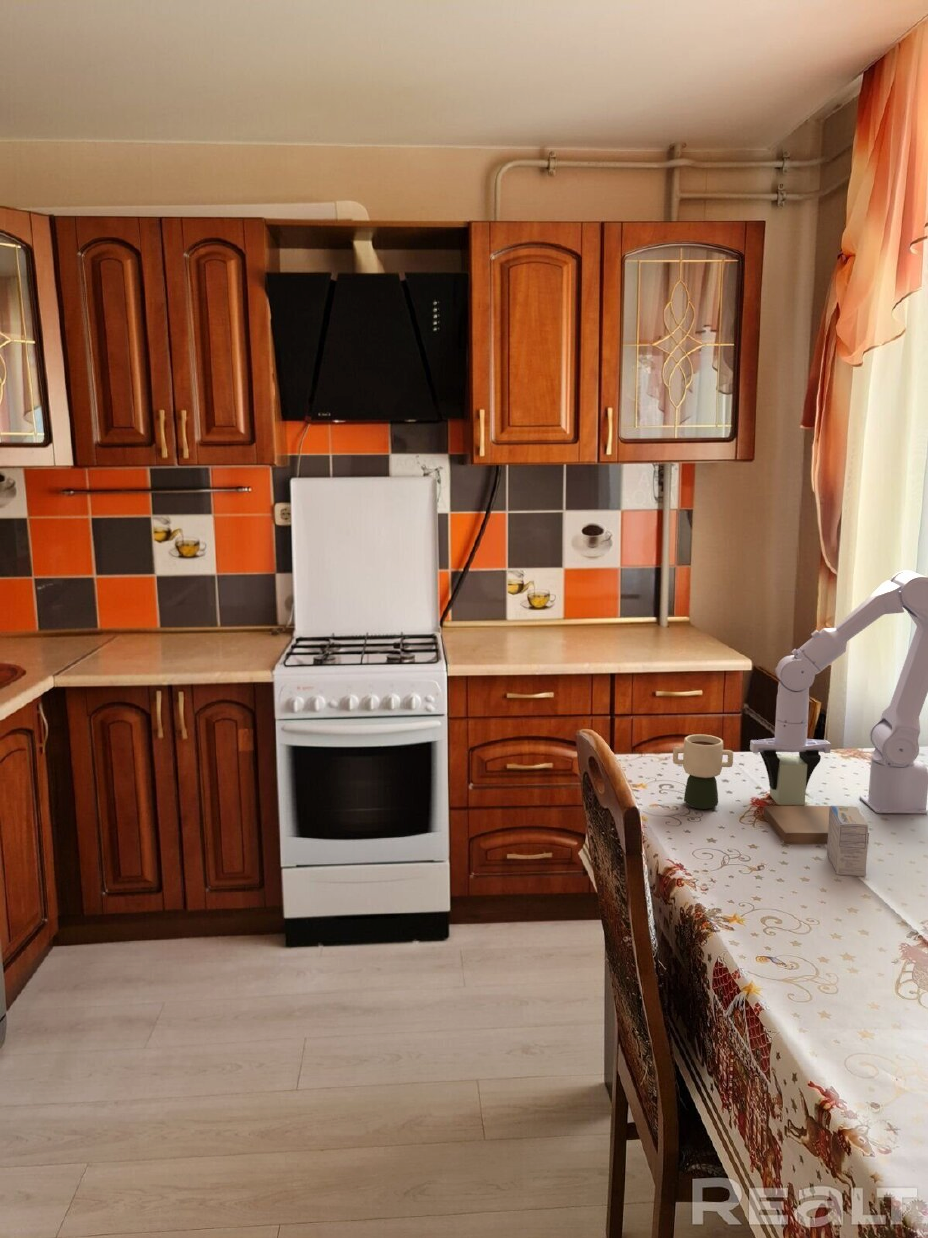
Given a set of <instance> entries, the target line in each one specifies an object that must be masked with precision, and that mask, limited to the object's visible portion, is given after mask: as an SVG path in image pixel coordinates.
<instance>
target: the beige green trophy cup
mask: <svg viewBox="0 0 928 1238" xmlns="http://www.w3.org/2000/svg"><path fill="white" fill-rule="evenodd" d="M672 750H673V751H672V763H673V764H675V765H682V768H683V769H684V772H685V774H688V777H687V780H686V785H685V790H684V795H683V797H684V798H683V801H684V803H686V805H688V806H690V807H692V808H695V809H698V810H699V809H700V810H703V809H704V810H708V809H712V808H715V807H716V806H718V805H719V793H718V783H717V779H716V777H718V776H720V775H721V772H722V770H723V768H732V767H733V765H734V751H733V750H730V749H724V740H723V739H722V738H720V737H717V736H714V735H710V734H709V735H708V734H701V733H700V734H699V733H698V734H691V735H690V734H689V735H687V736H685V737H684V739H683V747H678V746H675V747H673V749H672ZM679 753H682V755H683V756H682V759H679ZM723 756H727V761H723Z"/></svg>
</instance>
